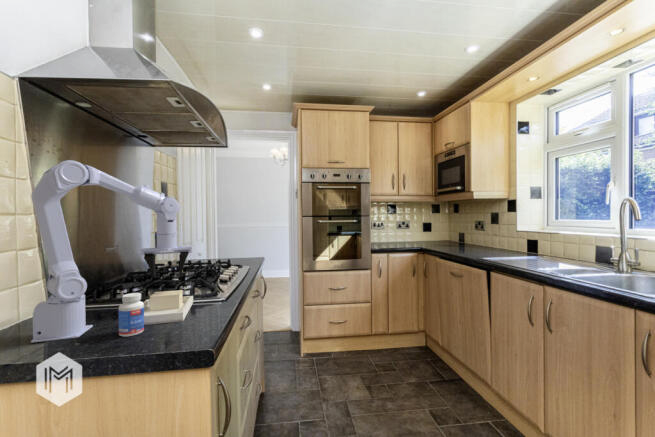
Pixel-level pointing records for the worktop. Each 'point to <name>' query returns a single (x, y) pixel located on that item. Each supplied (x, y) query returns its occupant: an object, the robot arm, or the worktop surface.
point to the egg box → (166, 300)
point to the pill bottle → (131, 315)
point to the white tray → (167, 313)
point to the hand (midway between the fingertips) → (167, 276)
